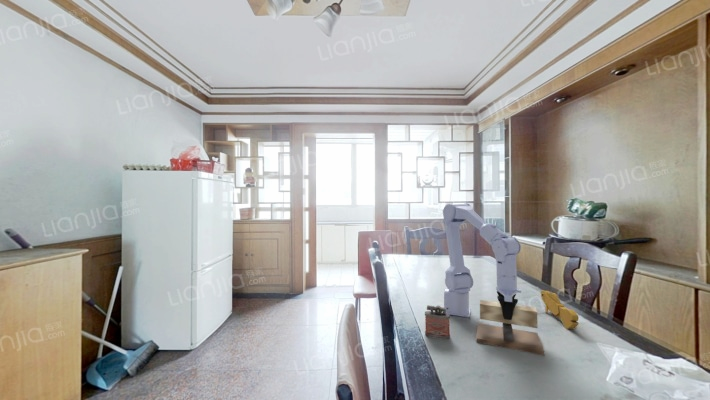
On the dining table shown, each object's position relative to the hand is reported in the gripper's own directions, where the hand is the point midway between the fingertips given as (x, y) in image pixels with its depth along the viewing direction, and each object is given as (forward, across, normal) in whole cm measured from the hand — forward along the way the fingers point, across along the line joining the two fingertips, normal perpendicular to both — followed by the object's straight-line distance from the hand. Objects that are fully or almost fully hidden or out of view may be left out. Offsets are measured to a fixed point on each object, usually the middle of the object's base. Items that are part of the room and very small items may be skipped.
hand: (507, 316), depth 89 cm
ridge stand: (+7, 0, 0) cm, 7 cm away
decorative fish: (+8, +24, -18) cm, 31 cm away
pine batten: (+1, 0, 0) cm, 1 cm away
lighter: (+8, -7, +21) cm, 23 cm away
